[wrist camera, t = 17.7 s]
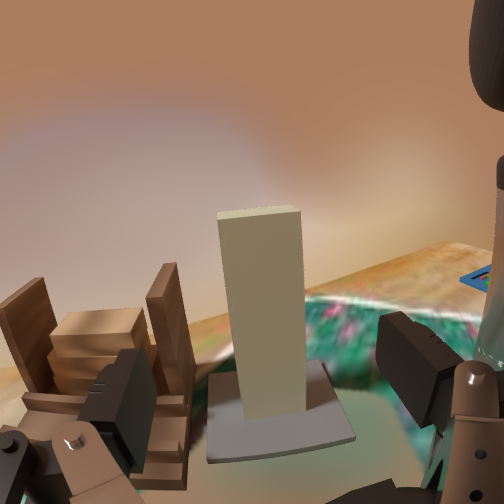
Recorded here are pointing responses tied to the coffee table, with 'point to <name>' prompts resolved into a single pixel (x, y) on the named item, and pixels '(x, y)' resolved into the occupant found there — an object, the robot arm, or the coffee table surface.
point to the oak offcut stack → (97, 346)
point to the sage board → (266, 307)
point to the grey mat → (273, 421)
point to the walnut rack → (69, 407)
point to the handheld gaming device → (478, 278)
